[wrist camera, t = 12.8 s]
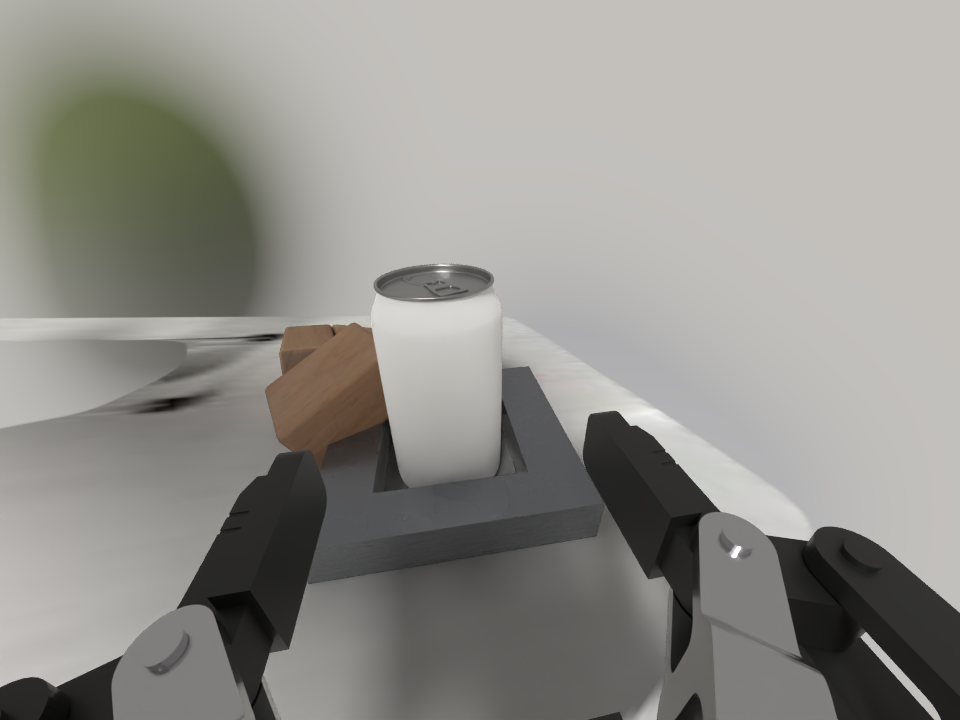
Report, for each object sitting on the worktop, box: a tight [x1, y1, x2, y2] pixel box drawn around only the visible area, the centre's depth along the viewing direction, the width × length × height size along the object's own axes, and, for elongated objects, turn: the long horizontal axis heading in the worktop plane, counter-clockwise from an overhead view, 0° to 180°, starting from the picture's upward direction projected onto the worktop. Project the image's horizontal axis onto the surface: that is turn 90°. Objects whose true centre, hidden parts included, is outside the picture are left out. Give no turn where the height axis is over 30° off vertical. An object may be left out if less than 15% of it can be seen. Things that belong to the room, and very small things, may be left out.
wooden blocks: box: [265, 323, 389, 471], centre depth 28 cm, size 8×13×18 cm
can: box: [371, 264, 502, 488], centre depth 19 cm, size 6×6×12 cm
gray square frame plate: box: [307, 366, 604, 584], centre depth 22 cm, size 14×13×2 cm
